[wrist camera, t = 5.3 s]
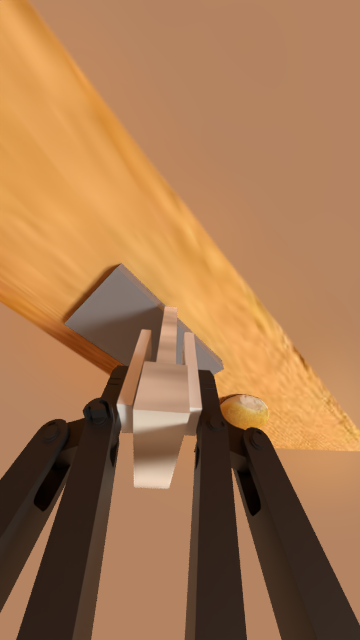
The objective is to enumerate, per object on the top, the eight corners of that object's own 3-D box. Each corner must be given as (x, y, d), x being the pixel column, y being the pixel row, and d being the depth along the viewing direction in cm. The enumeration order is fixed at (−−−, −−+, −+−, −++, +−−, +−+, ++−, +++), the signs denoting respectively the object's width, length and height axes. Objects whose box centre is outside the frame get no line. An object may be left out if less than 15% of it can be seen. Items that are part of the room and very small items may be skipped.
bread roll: (206, 419, 31) (209, 444, 28) (227, 388, 27) (234, 414, 23) (247, 426, 32) (255, 451, 29) (273, 398, 28) (286, 424, 25)
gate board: (71, 316, 20) (63, 323, 18) (121, 263, 17) (116, 267, 15) (172, 389, 26) (172, 397, 25) (221, 360, 23) (223, 368, 22)
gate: (171, 386, 23) (166, 496, 14) (151, 384, 23) (134, 495, 14) (184, 308, 17) (189, 413, 8) (157, 305, 17) (133, 409, 8)
